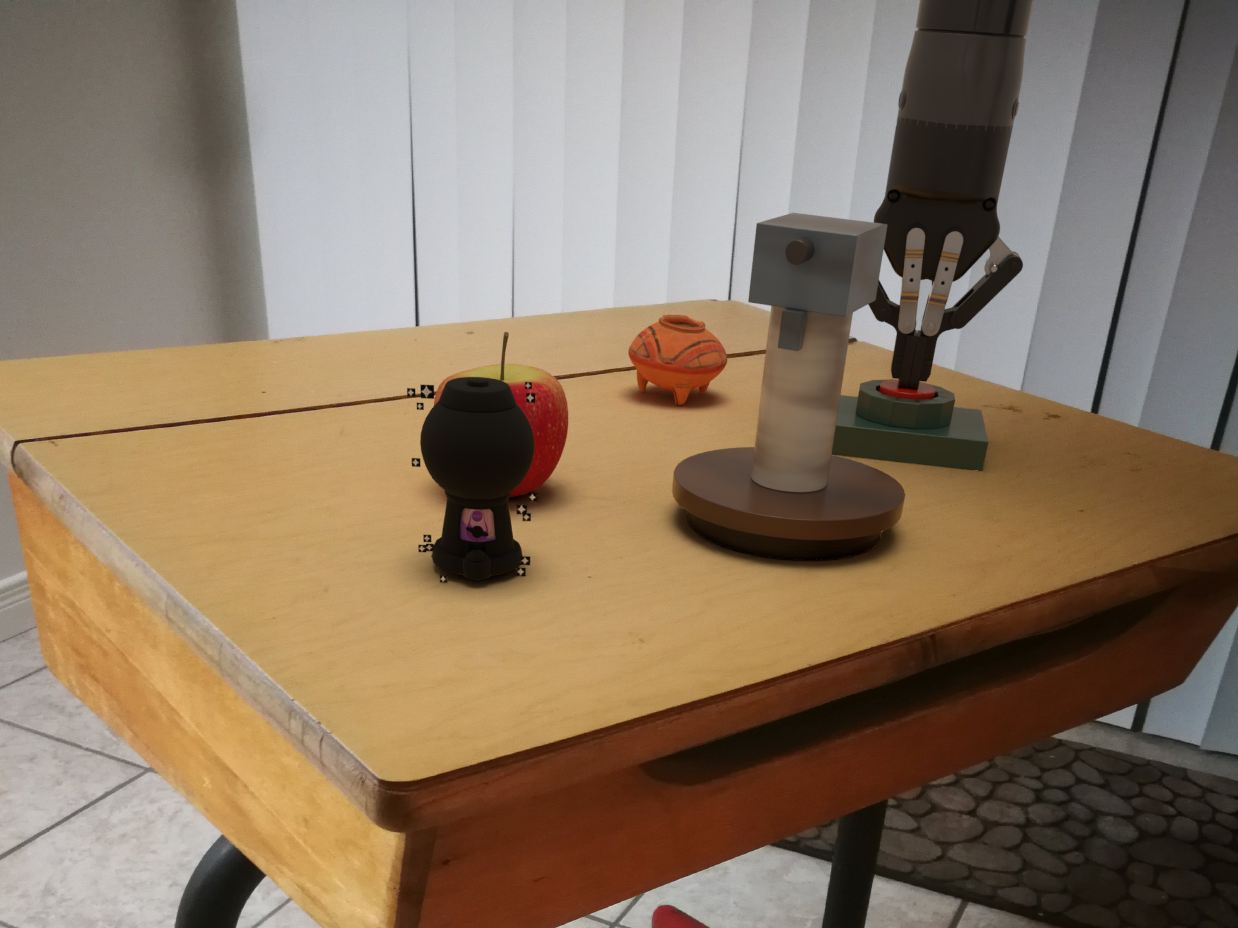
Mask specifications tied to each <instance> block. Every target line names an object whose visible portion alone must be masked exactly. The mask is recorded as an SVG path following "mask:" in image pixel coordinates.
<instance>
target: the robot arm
mask: <svg viewBox="0 0 1238 928" xmlns="http://www.w3.org/2000/svg"><path fill="white" fill-rule="evenodd" d="M1034 2H1035V0H919V3H918V9H917V15H916V16H917V17H916V23H915V29H916V30H915V31H914V32H913V38H912V42H911V47H910V50H909V53H908V58H907V59H906V60H907V61H906V64H905V68H904V74H903V78H902V83H901V84H902V85H901V90H900V92H899V96H898V103H897V105H898V109H897V116H896V124H895V129H894V135H893V141H892V149H891V154H890V161H889V167H888V173H887V179H886V187H885V192H884V198H883V200H882V203H880V206H879V207H878V208H877V209H876V211H875V213H874V216H873V223H882V224H887V231H886V237H885V243H884V250H883V252H884V254H885V255H886V258H887V259H888V261H889V264H890V266H891V269H892V270H893V271H894V273H895V274H896V275H897V276H899V277H900V278H901V283H900V284H901V285H900V294H899V295H900V296H899V304H898V303H896V302H894V301H892V300H891V299H890V297H889V295H888V294H887V292H886V290H885V288H884V286H883V284H882V282H881V280H880V279H879V281H878V287H877V294H876V300H875V301H873V302H871V303H869V304H868V305H867V306H868V307H869V308H870V310H871V313H872V315H873V316H874V318H875V319H876V321H878V322H880V323H885V324H888V325H890V326H892V327H893V329H895V332H896V335H895V341H894V347H893V353H892V358H891V365H890V373H891V378H892V379H894V380H895V379H897V380H898V387H900V388H909V389H918V387H919V382H922V383H927V381H928V380H929V378H930V376H931V374H932V369H933V363H934V358H935V354H936V353H935V352H936V348H937V342H938V339H939V337H940V336H941V334H943V333H945V332H947V331H951V330H961V329H963V328H964V327H966V325H968V324H969V323H970V322H971V321H972V320H973V319H974V318H975V317H976V316H977V315H978V314H979V313H980V312H981V311H982V310H983V309H984V308H985V307H986V306H987V305H989V303H990V302H991V301H993V299H994V298H995V297H996V296H997V295H999V294H1000V293H1001V291H1003V290H1004V289H1005V288H1006V287H1007V286H1008V285H1009V284H1010V283H1011V282H1012V281H1013V280H1014V279H1015V278H1016V277H1017V276H1018V275H1019V274H1020V273H1021V272H1022V270H1023V268H1024V262H1023V259H1022V258H1021V256H1020V255H1019V253H1018V252H1016V251H1012V250H1011V248H1010V247H1009V246H1008V245H1007V244H1006V243H1005V242H1004V241H1003V239H1002V238H1001V237H1000V232H1001V223H1000V219H999V217H998V202H999V197H1000V192H1001V186H1002V182H1003V177H1004V172H1005V167H1006V162H1007V159H1008V158H1007V157H1008V153H1009V148H1010V144H1011V138H1012V134H1013V128H1014V124H1015V119H1016V117H1017V115H1018V111H1019V105H1020V102H1019V98H1020V94H1021V93H1020V92H1021V89H1022V88H1021V87H1022V82H1023V75H1024V62H1025V51H1026V43H1027V38H1026V37H1027V36H1028V34H1029V28H1030V23H1031V18H1032V12H1033V7H1034ZM987 251H988V256H987V258H986V260H984V263H983V271H984V273H985V274H984V275H983V276H982V277H981V278H980V279H979V280H978V281H977V282H976V283H974V285H973V286H972V287H970V289H968V291H967V292H965V294H964V295H962V297H960V299H959V300H958V301H956V303H954V304H953V306H951V307H947V308H946V306H947V303H948V300H949V296H950V294H951V293H950V292H951V289H952V285H953V283H954V282H957V281H958V280H960V279H962V278H963V277H964V276H965V274H966V273H968V271H970V269H971V268H972V267H973V266H974V265H975V264H976V263H977V261H979V260H980V259H981V258H982V256H983V255H984V254H985V253H987ZM924 280H929V281H930V284H929V287H928V288H929V289H928V293H927V298H926V302H925V306H924V310H923V314H922V318H921V325H920V329H916V328H917V316H918V315H917V314H918V305H919V297H920V289H921V281H924Z"/></svg>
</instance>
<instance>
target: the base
mask: <svg viewBox="0 0 1238 928" xmlns="http://www.w3.org/2000/svg"><path fill="white" fill-rule="evenodd" d="M685 513H686V514H685V518H686V523H687V524H688V526H689V528H690V529H691V530H692V531H693V532H694V533H696V534H697V535H699V536H700V537H702V538H703V539H705V540H707V541H708V542H711V543H712V544H715V545H718V546H721V547H723V548H725V549H729V550H733V551H735V552H740V553H743V554H747V555H752V556H757V557H761V558H762V557H763V558H770V559H777V560H784V561H785V560H787V561H800V562H801V561H808V562H809V561H811V562H813V561H815V562H816V561H817V562H818V561H830V560H831V561H832V560H839V559H846V558H851V557H854V556H859V555H861V554H863V553H866V552H869V551H870V550H872V549H874V548H875V547H876V546H877V545H878V544H879V542H880V540H881V537H882V532H883V531H882V532H880V533H877V534H873V535H869V536H864V537H858V538H851V539H842V540H796V539H785V538H775V537H768V536H761V535H756V534H751V533H746V532H742V531H737V530H733V529H730V528H726V527H723V526H720V525H717V524H714V523H711V522H708V521H706V520H704V519H701V518H699V517H697V516H695V515H693V514H691V513H690V512H688V511H686V512H685Z"/></svg>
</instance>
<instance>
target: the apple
mask: <svg viewBox="0 0 1238 928" xmlns="http://www.w3.org/2000/svg"><path fill="white" fill-rule="evenodd" d="M509 335H510V334H509V331H505V332H503V338H502V347H501V348H502V350H501V358H500V359H501V360H500V362H501V363H497V364H489V365H484V366H480V367H474V368H470V369H467V370H462V371H459V372H456V373H453V374H450V375H449V376H447V377H446V378H444V379H443V380H442V381H441V382H440V384H439V385H438V387H437V390H436V393H435V395H434V399H433V406H434V405H435V404H436V403H437V402H438V401H439V398H440V396H441V393H442V391H443V389H444V386H445V384H446V383H447V382H448V381H449V380H452V379H456V378H461V377H485V378H492V379H497V380H501V381H504V382H505V383H507V384H508V385H509V386H510V388H511V391H512V393H513V396H514V398H515V401H516V403H517V405H518V406H519V407H520V408H521V409H522V411H523V412H524V414H525V416H526V417H527V419H528V421H529V423H530V425H531V428H532V431H533V436H534V445H535V448H534V456H533V460H532V464H531V466H530V468H529V470H528V472H527V474H526V476H525V478H524V479H523V481H522V482H521V483H520V484H519V485H518V486H517V487H516V488H515V489H514V490H513V491H511V492H510V496H509V498H514V497H519V496H523V495H526V494H529V493H532V492H534V491H535V490H538V488H540V487H542V486H543V485H544V484H545V483H546V482H547V481H548V480H549V479H550V477H551V475H552V474H553V473H554V471H555V470H556V468H557V466H558V464H559V462H560V460H561V458H562V454H563V452H564V449H565V446H566V442H567V438H568V430H569V408H568V407H569V406H568V400H567V396H566V393H565V390H564V387H563V386H562V384H561V382H560V381H559V380H558V379H557V377H555V376H554V375H552V374H551V373H550V372H548V371H547V370H544V369H541V368H539V367H535V366H532V365H527V364H519V363H505V361H506V350H507V345H508V342H509V341H508V340H509ZM525 382H532V389H525ZM526 393H536V395H535V403H531V402H526Z"/></svg>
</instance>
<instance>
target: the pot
mask: <svg viewBox="0 0 1238 928" xmlns="http://www.w3.org/2000/svg"><path fill="white" fill-rule="evenodd" d="M627 351H628V352H627V353H628V357H629V359H630V362H631V363H632V365H633V366H634V368H635V369H636V383H637V386H638V389H639V390H640V392H641V393H644V392H646V389H647V385H648V384H649V383H651V384H652V385H653V386H656V387H658V388H660V389H662V390H666V391H670V392H672V393H673V399H674V403H675V406H682V405H684V404H685V403H686V402H687V399H688V398H689V394H690V392H691V391H693V390H696V389H698V394H700V395H704V394H705V393H706V392H707V390H708V388H709V386H710V383H711V382H712V381H713V380H715V379H716V378H717V377H718V376H719V375H720V374H721V373H723V371H724V370H725V368H726V366H727V364H728V354H727V351H726V349H725V347H724V345H723V344H722V342H721V341H720V339H719V338H718V337H716V336H715V334H713V332H711V331H710V330H708V329H707V328H706V324H705V322H704V321H703V320H701V321H699V320H696V319H694V318H691V317H689V316H688V315H683V314H664V315H662V316H661V317H659V318H658V321H657V322H653V323H652V324H651V325H649V326H647V327H645V328H644V329H643V330H641V331H640V332H639V333H638V334H637V335H636V336H635V338H634V339H633V340H632V342H631V344H630V345H629V347H628V350H627Z"/></svg>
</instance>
